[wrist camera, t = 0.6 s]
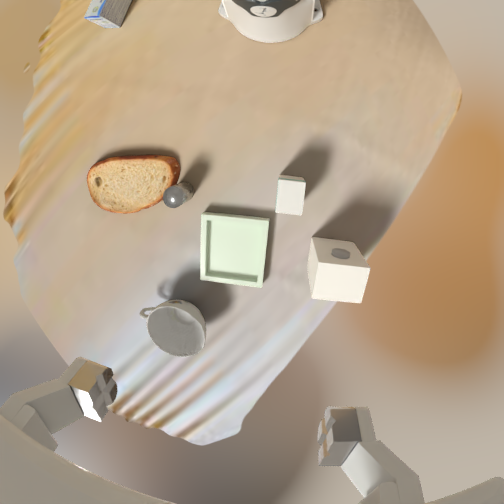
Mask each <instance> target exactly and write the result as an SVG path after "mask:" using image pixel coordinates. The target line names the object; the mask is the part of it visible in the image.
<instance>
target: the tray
mask: <svg viewBox="0 0 504 504" xmlns="http://www.w3.org/2000/svg"><path fill="white" fill-rule="evenodd" d="M269 219H270V218H262V217H253V216H243V215H233V214H223V213H213V212H204V213H202V214H201V253H200V280H206V281H213V282H220V283H228V284H235V285H243V286H251V287H259V288H262V285H263V276H264V267H265V258H266V248H267V239H268V229H269Z"/></svg>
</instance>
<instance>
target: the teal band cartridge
mask: <svg viewBox="0 0 504 504" xmlns="http://www.w3.org/2000/svg"><path fill="white" fill-rule="evenodd" d="M305 186H306V181H305V180H304V179H303V177H296V176H287V175H279V179H278V189H277V199H276V209H275V213H284V214H292V215H301V216H302V211H303V203H304V195H305Z"/></svg>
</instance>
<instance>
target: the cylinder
mask: <svg viewBox="0 0 504 504" xmlns="http://www.w3.org/2000/svg"><path fill="white" fill-rule="evenodd" d="M193 194H194V190H193V187H192V186H191V184H189V183H187V182H182V183H179V184H176V185H174V186H171V187H169V188H167V189H166V190H165V191H164V193H163V201H164V203H165V204H166V205H167V206H168V207H170V208H176V207H178V206H180V205H182V204H183V203H185V202H187V201H188V200H190V199H191V198H192V197H193Z"/></svg>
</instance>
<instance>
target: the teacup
mask: <svg viewBox="0 0 504 504" xmlns="http://www.w3.org/2000/svg"><path fill="white" fill-rule="evenodd" d="M145 311H151V313H150V314H149V315H145V314H144V312H145ZM140 316H141V317H142V318H144V319H147V322H146V326H147V330H148V333H149V335H150V337H151V338H152V341H153V342H154V343H155V344H156V345H157V346H158V348H160V349H161V350H163V351H164V352H166V353H168V354H170V355H173V356H177V357H187V356H192V355H196V354H197V353H198V352H200V351H201V350H203V348H204V345H205V340H206V324H205V320H204V317H203V315H202V314H201V312H200V311H199V309H198V308H197V307H196V306H194V305H193V304H191V303H190V302H187V301H184V300H169V301H166V302H164V303H162V304H160V305H158V306H157V307H156V308H155V307H152V308H145V309H142V311H141V312H140Z"/></svg>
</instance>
